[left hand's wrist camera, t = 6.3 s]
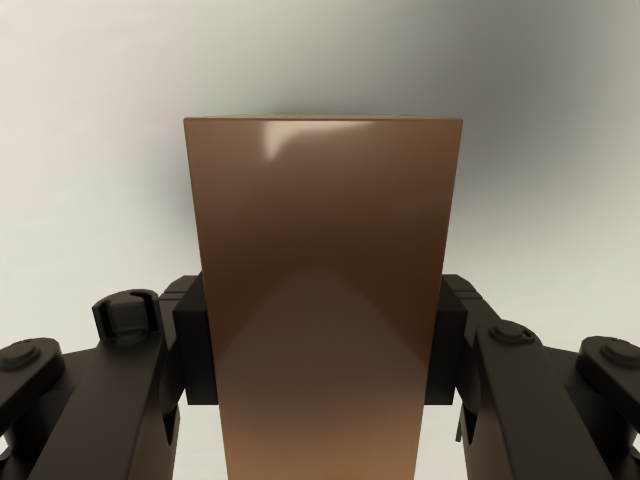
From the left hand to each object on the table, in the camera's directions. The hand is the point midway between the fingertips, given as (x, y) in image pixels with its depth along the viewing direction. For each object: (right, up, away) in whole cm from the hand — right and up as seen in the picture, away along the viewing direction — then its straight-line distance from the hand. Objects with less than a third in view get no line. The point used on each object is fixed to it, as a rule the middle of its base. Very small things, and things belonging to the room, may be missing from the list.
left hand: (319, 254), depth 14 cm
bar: (0, -32, +13) cm, 35 cm away
